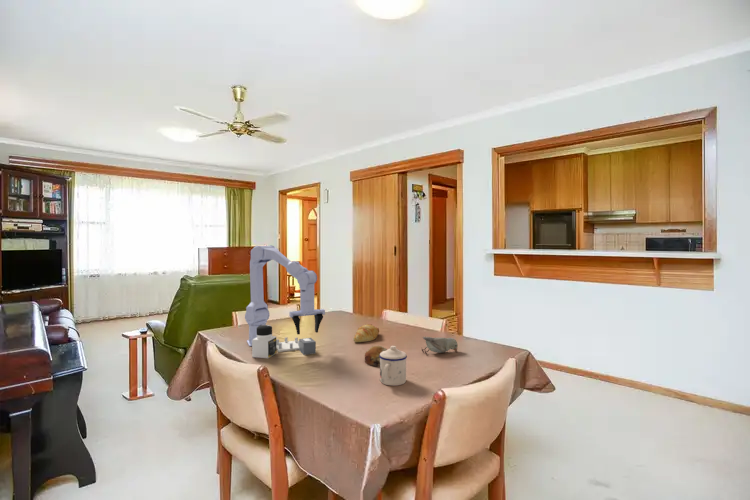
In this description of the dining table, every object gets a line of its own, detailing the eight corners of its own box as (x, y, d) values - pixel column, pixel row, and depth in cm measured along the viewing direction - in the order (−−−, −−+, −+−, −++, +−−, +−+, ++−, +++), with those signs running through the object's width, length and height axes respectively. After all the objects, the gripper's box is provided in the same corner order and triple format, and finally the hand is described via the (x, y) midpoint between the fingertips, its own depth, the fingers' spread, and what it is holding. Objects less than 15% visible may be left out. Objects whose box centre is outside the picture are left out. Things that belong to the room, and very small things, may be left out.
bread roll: (391, 370, 152) (394, 349, 155) (384, 366, 143) (387, 344, 146) (367, 367, 155) (370, 347, 158) (359, 363, 146) (362, 341, 149)
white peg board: (273, 344, 173) (273, 338, 173) (297, 342, 178) (297, 336, 178) (278, 352, 162) (278, 345, 162) (304, 349, 167) (304, 342, 167)
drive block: (299, 350, 165) (299, 338, 165) (310, 349, 167) (310, 337, 167) (303, 355, 159) (303, 342, 158) (315, 353, 161) (315, 341, 161)
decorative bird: (460, 353, 162) (460, 335, 162) (425, 357, 157) (425, 338, 157) (453, 349, 168) (454, 332, 167) (419, 353, 162) (419, 335, 162)
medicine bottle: (268, 358, 154) (268, 328, 153) (251, 357, 155) (251, 327, 155) (276, 353, 161) (276, 324, 160) (260, 352, 162) (260, 323, 162)
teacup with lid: (385, 374, 136) (385, 341, 136) (410, 378, 133) (410, 344, 132) (371, 387, 125) (371, 350, 125) (398, 391, 121) (398, 354, 121)
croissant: (359, 352, 175) (367, 337, 173) (343, 339, 179) (349, 325, 177) (382, 340, 193) (388, 327, 191) (366, 329, 197) (372, 315, 195)
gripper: (292, 302, 156) (292, 336, 156) (327, 300, 162) (327, 333, 162) (288, 300, 162) (288, 333, 162) (322, 298, 168) (322, 329, 168)
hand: (307, 333), depth 163 cm, fingers open, 7 cm apart
